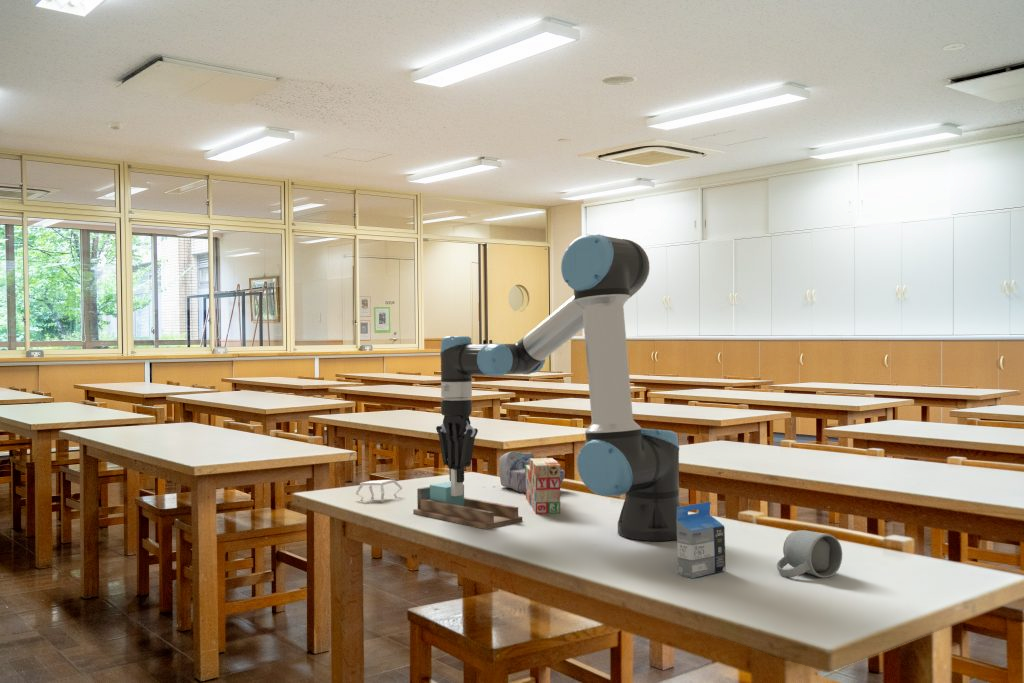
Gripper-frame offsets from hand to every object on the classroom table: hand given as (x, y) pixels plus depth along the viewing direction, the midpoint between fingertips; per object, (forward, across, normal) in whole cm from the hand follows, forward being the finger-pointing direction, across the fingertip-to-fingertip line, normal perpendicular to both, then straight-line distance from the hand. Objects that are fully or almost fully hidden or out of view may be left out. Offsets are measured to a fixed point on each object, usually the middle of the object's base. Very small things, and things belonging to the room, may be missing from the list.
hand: (456, 495), depth 207 cm
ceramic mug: (+5, +86, +9) cm, 86 cm away
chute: (+5, +4, 0) cm, 6 cm away
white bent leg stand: (+5, -32, +1) cm, 32 cm away
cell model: (+5, -12, +39) cm, 41 cm away
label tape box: (+5, +72, -4) cm, 72 cm away
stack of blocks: (+5, +7, +24) cm, 25 cm away
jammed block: (+4, -4, 0) cm, 5 cm away
